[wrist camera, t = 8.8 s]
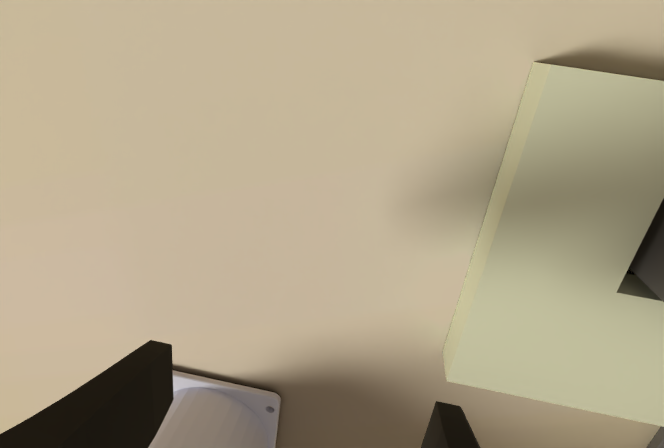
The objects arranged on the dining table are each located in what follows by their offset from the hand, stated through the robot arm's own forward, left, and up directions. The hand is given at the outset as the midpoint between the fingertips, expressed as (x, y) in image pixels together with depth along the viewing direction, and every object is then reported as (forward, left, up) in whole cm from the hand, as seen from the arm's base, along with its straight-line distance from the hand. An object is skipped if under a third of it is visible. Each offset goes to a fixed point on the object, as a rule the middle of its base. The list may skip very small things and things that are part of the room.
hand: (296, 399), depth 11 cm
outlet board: (+2, -13, -9) cm, 16 cm away
